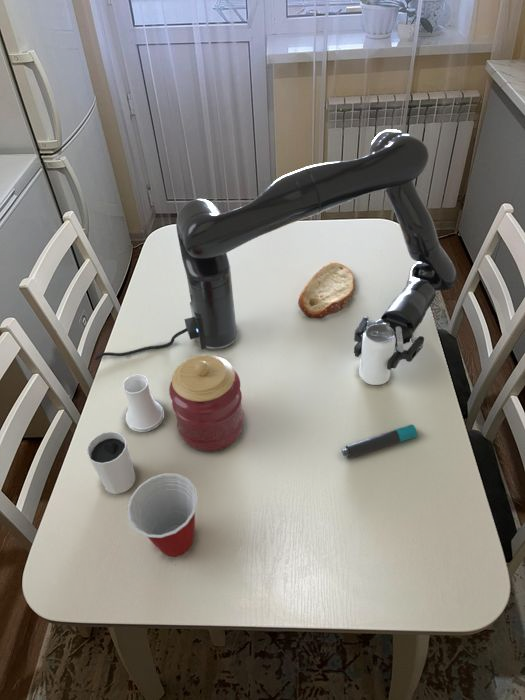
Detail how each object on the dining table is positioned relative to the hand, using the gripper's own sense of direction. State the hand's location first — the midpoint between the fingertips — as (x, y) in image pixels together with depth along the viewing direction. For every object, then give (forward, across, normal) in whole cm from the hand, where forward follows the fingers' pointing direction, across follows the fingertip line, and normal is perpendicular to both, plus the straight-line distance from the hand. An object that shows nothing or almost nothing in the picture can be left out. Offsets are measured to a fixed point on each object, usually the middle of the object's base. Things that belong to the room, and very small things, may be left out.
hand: (372, 360), depth 109 cm
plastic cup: (+49, -12, +7) cm, 51 cm away
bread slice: (-22, -22, +7) cm, 32 cm away
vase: (+32, -34, +7) cm, 47 cm away
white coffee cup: (+45, -28, +7) cm, 54 cm away
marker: (+14, +8, +6) cm, 17 cm away
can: (-2, 0, +7) cm, 7 cm away
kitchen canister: (+27, -21, +7) cm, 35 cm away
